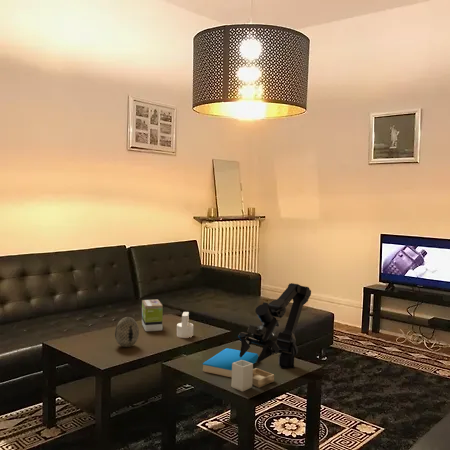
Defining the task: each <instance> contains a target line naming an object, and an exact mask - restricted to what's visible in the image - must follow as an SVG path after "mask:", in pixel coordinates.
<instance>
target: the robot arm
mask: <svg viewBox="0 0 450 450" xmlns="http://www.w3.org/2000/svg"><path fill="white" fill-rule="evenodd" d="M311 295H312V290H311V289H310V287H309V286H305V285H304V286H303V285H301V284H298V283H293V282H292V283H288V285H287V287H286V288H285V290H284V291H283V292H282V293H281V294H280V296H279V297H278V298H277V299H274V300H272V301H270V302H269V303H268V302H263V303H262V304H260V305H258V306H257V307H256V308H255V314H256V316H257V318H258V319H259V320H260V322H261V324H260V325H257V326H256V325H253V324H252V325H251V324H249V325H248V328H247V332H244V331H241V332H239V334H238V335H237V338H239V340H240V343H241V345H240V355H239V356H240V357H242V356H243V355H244V354H245V353H246V352H248V351H249V349H250V348H251V345H252V344H255V345H258V346H261V347H262V350H261V352H260V353H259V354H258V359H257V361H256V363H257V364H259V363H261V362H262V361H264V360H265V359H266V358H268V357H271V356H274V355H275V354H276V355H278V357H277V360H278V362H277V363H278V365H279V367H280V369H295V368H296V367H295V356H297V355H298V353H299V347H298V346H297V344H296V342H297V339H296V337H295V333H296V330H297V327H298V322H299V320H300V316H301V313H302V310H303V307H304V305H306V303H308V301H309V299H310V297H311ZM291 301H292V305H291V307H290V310H289V314H288V318H287V320H286V323H285V326H284V330H283V331H282V332H281V331H279V333H278V335H277V338H276V340H275V341H274V340H271V339H270V338H273V332H274V330H275V328H276V327H279V325H280V323H279V320H278V319H276V318H279V319H281V318H283V317H284V315H286V312H287V306H288V305H289V304H290V303H291ZM249 333H250V334H251V335H250V334H249Z"/></svg>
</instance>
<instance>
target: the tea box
mask: <svg viewBox="0 0 450 450" xmlns="http://www.w3.org/2000/svg"><path fill="white" fill-rule="evenodd" d="M163 307H164V306H163V303H162V302H161V301H160V300H159V299H141V324H142V327H143V329H144V331H145V332H159V331H163V315H164V314H163V313H164V311H163V310H164V308H163Z"/></svg>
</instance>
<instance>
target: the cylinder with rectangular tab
mask: <svg viewBox="0 0 450 450" xmlns="http://www.w3.org/2000/svg"><path fill="white" fill-rule="evenodd" d="M189 315H190V312H189V311H183V312H182V314H181V322H178V323H177V324H176V337H177V338H180V339H188V338H189V337H190V338H192V336H194V324H193V323H191V322H189V321H190V317H189ZM190 338H189V339H190Z"/></svg>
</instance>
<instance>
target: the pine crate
mask: <svg viewBox="0 0 450 450" xmlns="http://www.w3.org/2000/svg"><path fill="white" fill-rule="evenodd" d="M274 382H275V374H274V373H271V372H268V371H266V370H263V369H260V368H258V367H255V368H253V377H252V387H253V386H254V387H256V388H262V387H264V386H266V385H269V384H270V383H274Z"/></svg>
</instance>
